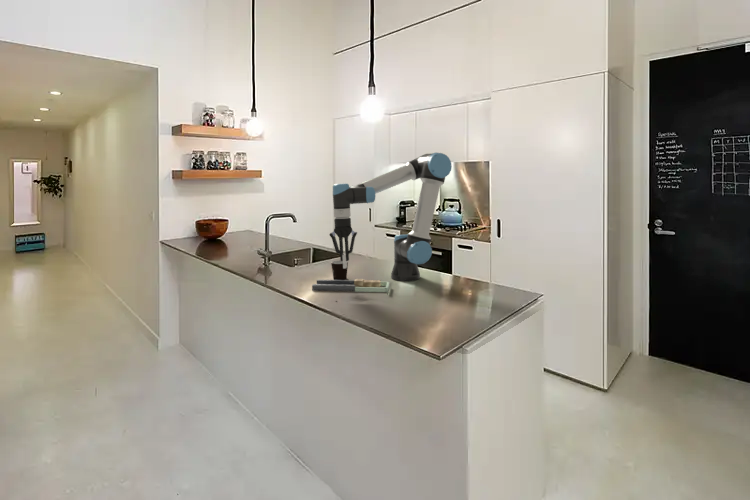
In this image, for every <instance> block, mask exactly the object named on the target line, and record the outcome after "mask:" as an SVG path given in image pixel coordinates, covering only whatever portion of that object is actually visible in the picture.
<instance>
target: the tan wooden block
mask: <svg viewBox="0 0 750 500" xmlns="http://www.w3.org/2000/svg"><path fill="white" fill-rule="evenodd" d="M371 282H372V279H364V281H363V287H371Z"/></svg>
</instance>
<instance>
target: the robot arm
mask: <svg viewBox="0 0 750 500" xmlns="http://www.w3.org/2000/svg"><path fill="white" fill-rule="evenodd" d="M452 165H453V164H452V161H451V159H450V157H449V156H448V155H447V154H445V153H443V152H432V153H425V154H422V155H420V156H418V157H416V158H414V159H411V160H410V161H406V164H405V165H402V166H400V167H399V168H395V169H393V170H390V171H388V172H385V173H382V174H380V175H378V176H376V177H373V178H371V179H368V180H366V181H363V182H361V183H358V184H356V185H351V186H350V184H349V183H334V184H333V186H332V201H333V202H332V203H333V217H334V228H333V231H332V232H330V233H329V236H330V238H331V240H332V243H333V247H334V251H335V253H336V254H338V255H339V256H340V257H339V259H340V260H341V261H343V269H344V268H347V261H348V262H349V260H350V254H351V253H353V250H354V245H355V241H356V236H357V235H358V232H357V231H354V230H353V228H352V221H351V220H352V219H351V205H357V204H358V205H359V204H360V205H361V204H370V203H371V204H372V203H374V202H375V201H376V195H377V194H378V193H381V192H383V191H385V190H388V189H391V188H393V187H396V186H398V185H400V184H403V183H405V182H408V181H411V180H412V181H416V180H418V179H420V181H421V187H420V194H419V196H418V197H419V198H418V202H417V205H416V210H415V215H414V219H413V224H412V229H411V231H410V232H409V233H407V234H405V233H404V234H396V235H395V236H394V239H393V244H394V247H393V248H394V251H393V252H394V255H393V257H394V258H393V260H394V263H393V266H392V270H391V272H390V278H391V279H392V280H395V281H398V282H399V281H401V282H402V281H404V282H411V281H417V280H420V278H421V273H420V270H419V267H418V265H423V264H425V263H427V262H428V261H429V260H430V259H431V257H432V255H433V248H432V246H431V241H432V238H431V235H430V231H431V227H432V222H433V219H434V215H435V209H436V206H437V201H438V196H439V192H440V188H441V186H443V184H445V180H446V177H448V176H449V175H450V173H451V171H452ZM350 235H351V236H352V237H351V239H350V244H349V237H350ZM336 236H337V237H338V242H339V244H338V242H337V238H336ZM343 239H344V241H343ZM349 245H350V246H349ZM344 249H345V251H344ZM347 269H348V268H347Z"/></svg>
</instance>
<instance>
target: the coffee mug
mask: <svg viewBox="0 0 750 500" xmlns="http://www.w3.org/2000/svg"><path fill="white" fill-rule="evenodd" d="M330 265H331V270H332V271H331V272H332V278H333V279H332V280H348V279H347V277H348V269H349V268H348V267H349V261H347V268H344V269H343V261H341V260H333V261H331V262H330Z"/></svg>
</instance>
